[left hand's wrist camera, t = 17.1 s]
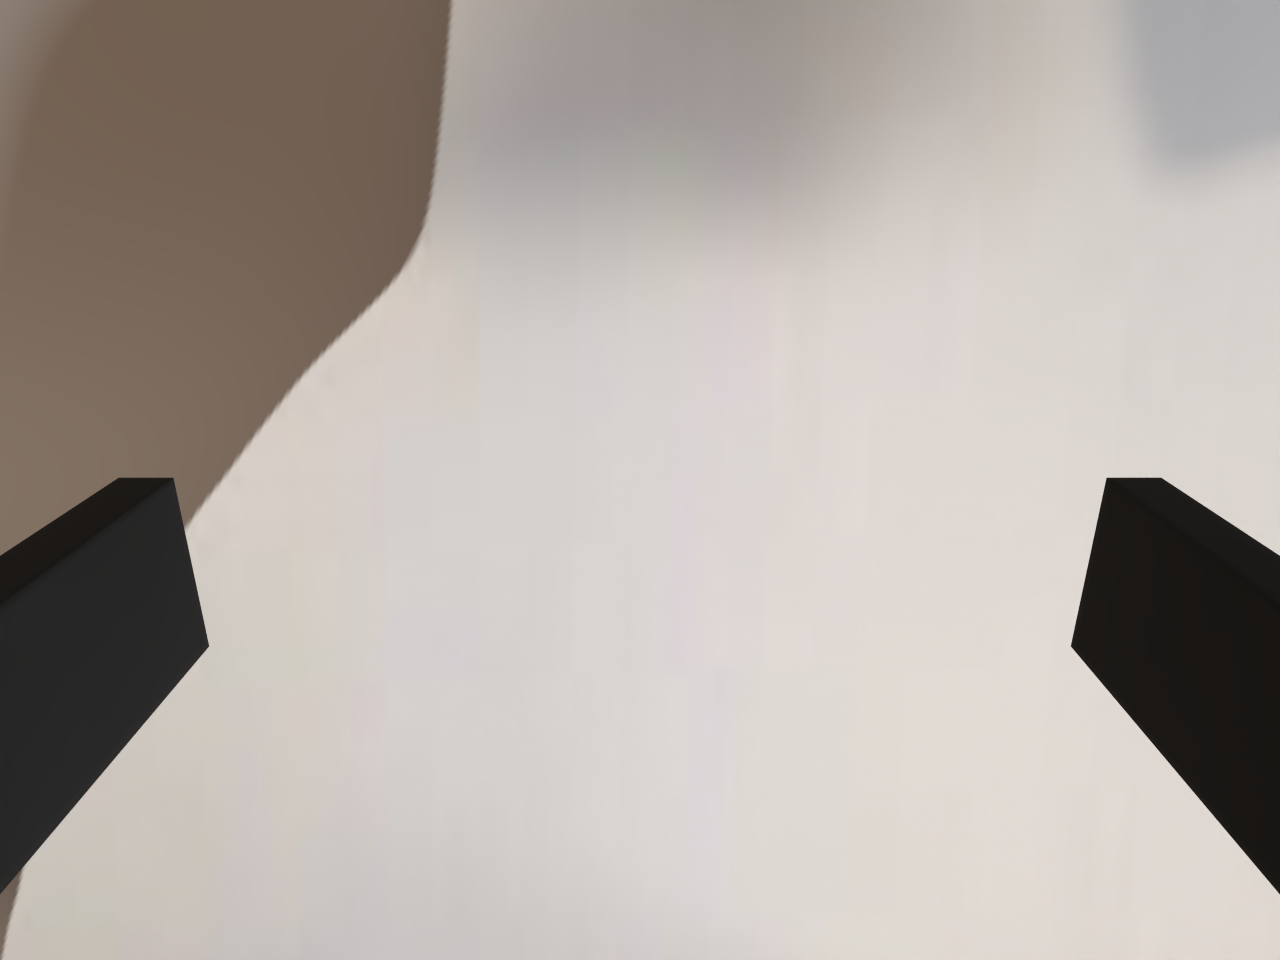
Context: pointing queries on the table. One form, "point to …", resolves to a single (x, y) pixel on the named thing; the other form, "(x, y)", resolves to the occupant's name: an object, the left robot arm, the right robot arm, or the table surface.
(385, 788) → the table surface
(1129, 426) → the table surface
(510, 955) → the table surface
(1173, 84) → the table surface
